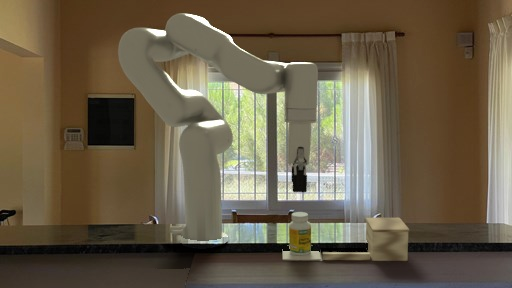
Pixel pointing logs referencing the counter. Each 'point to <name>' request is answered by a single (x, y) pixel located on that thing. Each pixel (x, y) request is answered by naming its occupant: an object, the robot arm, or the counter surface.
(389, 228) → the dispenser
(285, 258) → the mat
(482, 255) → the counter surface
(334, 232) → the counter surface
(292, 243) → the supplement bottle
